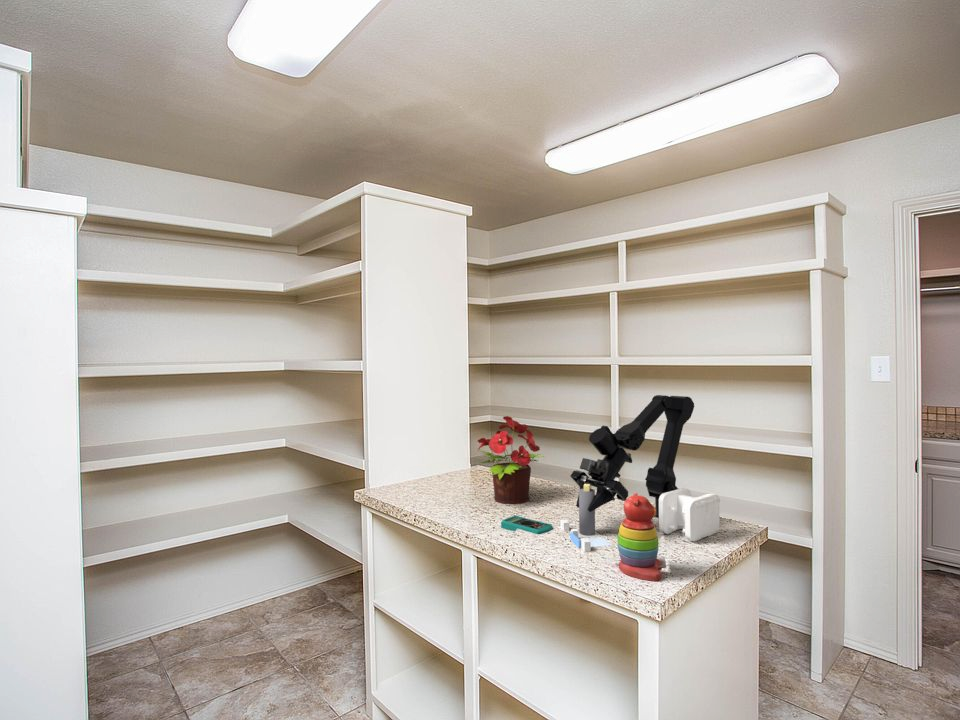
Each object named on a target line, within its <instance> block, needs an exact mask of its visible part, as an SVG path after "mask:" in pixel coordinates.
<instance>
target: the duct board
mask: <svg viewBox="0 0 960 720" xmlns="http://www.w3.org/2000/svg"><path fill="white" fill-rule="evenodd" d="M560 529H561V531H563V532H569V535H570V539H569V540H570V541H571V542H572V543H573V544H574V545H575V546H576V547H577V548H578V549H582V551H583V552H584V553H585V552H586V553H587V552H591V548H595V547H606V546H607V547H609V546H613V544H612V543H610V542H609V541H608V540H607V539H605V538H604V537H602V534H599V533H598V532H597V531H596V530H595V534H594V535H583V534H580V533H579V529H577V528H573V529H570V522H569V521H568V520H567V519H560ZM592 537H593V538H592Z"/></svg>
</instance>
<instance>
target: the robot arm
mask: <svg viewBox="0 0 960 720" xmlns="http://www.w3.org/2000/svg"><path fill="white" fill-rule="evenodd" d="M694 409H695V402H694V401H693V399H692V398H691V397H690V396H687V395H686V396H685V395H682V396H681V395H670V396H669V395H664V394H656V395H654V396H653V397H652V399H651V401H650V402H649V403H648V404H647V405H646V406H645V407H644V409H643V410H641V412H640V413H639V414H638V415H637V416H636V417H635V418H634V419H633V421H631V422H630V423H627V424H625V425H622V426H621V427H620V428H619V429H617V430H616V431H615V432H614V433H613V432H612V431H611V429H610V427H609V426H607V425H601V427H599V428H597V429H595V430H594V431H593V432H591V433H590V434H589V437H588V441H589V442H590V443H591V445H592V446H593V447H594V448H595V450H597V452H598V453H599V454H600V455H601V456H603V458H602V459H600V458H598V459H597V460H593V459H591V458H590V459H589V458H585V457H583V458H582V460H581V463H580V466H579V469H580V470H577V469H576V470H573V471H572V473H571V474H570V475H569V476H570V477H569V478H571V479H572V480H573V481H574V482H575V484H576V485H578V487H579V489H583V488H584V484H590V489H593V488H594V487H595V488H596V492H595V496H594V498H593V500H592V502H591V503H590V505H589V507H588V511H589V512H591V511H593V510H595V511H596V510H597V509H598V508H600V507H602V506H604V505H606V504H608V503H610V502H612V501H613V502H615V500H616V499H617V500H619V501H622V502H625V501H626V499H627V498H629V491H628V489H627V488H626V487H625V486H624V484H622V482H621V481H619V480H615V479H620V477H621V474H620V471H621V469H622V468H623V467H624V465H625V463H629V464H632V463H633V459H632V453H629V452H627V451H626V450H630V451H637V450H639V449H640V447H642V444H643V443H644V441H645V437H646V433H647V432H648V431H649V429H650V428H651V427H652V426H653V425H654V424H655V423H656V421H657V420H659V418H660V417H661V416H662V415H663V414H664V415H665V417H666V426H665V429H664V433H663V436H662V442H661V445H660V450H659V453H658V457H657V461H656V464H655V465H654V466H653V467H648V469H647V474H646V477H645V487H646V488H647V489H646V490H647V492H648V495H649V497H651V498H655V500H654V501H655V503H654V504H655V506H654V507H655V508H656V510H657V511H656V514H655V516H654V517H653V518H658V519H659V497H660V495H661V494H663V493H666V492H670V491H673V490H677V489H679V488H678V487H677V484H676V482H677V477H676V474H675V471H674V466H675V462H676V459H677V454H678V450H679V444H680V441H681V436H682V432H683V427H684V425H685V424H686V423H687V422H688V421H689V420H690V419H691V417H692V415H693V411H694ZM581 470H584V471H581ZM585 471H586V472H587V473H586V472H585ZM615 497H616V498H615ZM575 506H576V507H577V508H578V509H579V494H578V496H577V501H576V505H575Z"/></svg>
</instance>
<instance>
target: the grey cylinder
mask: <svg viewBox="0 0 960 720" xmlns="http://www.w3.org/2000/svg"><path fill="white" fill-rule="evenodd" d="M578 495H579V508H578V523H579V526H578V528H579V529H578V530H579V533H580V534H583V535H594V534H595V531H596V509H595V510H593V511H591V512H589V511H588V507H589V505H590V503H591V502H592V500H593V498H594V496H595V495H596V491H595V489H593V488H591V489H590V484H584V488H583V489H580V488H579V489H578Z"/></svg>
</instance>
